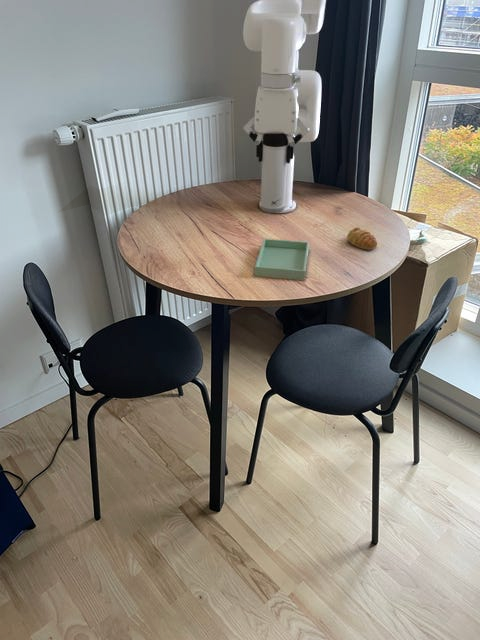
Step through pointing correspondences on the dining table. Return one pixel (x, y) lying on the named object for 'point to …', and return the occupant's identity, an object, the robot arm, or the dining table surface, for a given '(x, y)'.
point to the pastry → (362, 239)
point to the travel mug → (274, 172)
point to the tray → (282, 259)
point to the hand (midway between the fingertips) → (274, 160)
